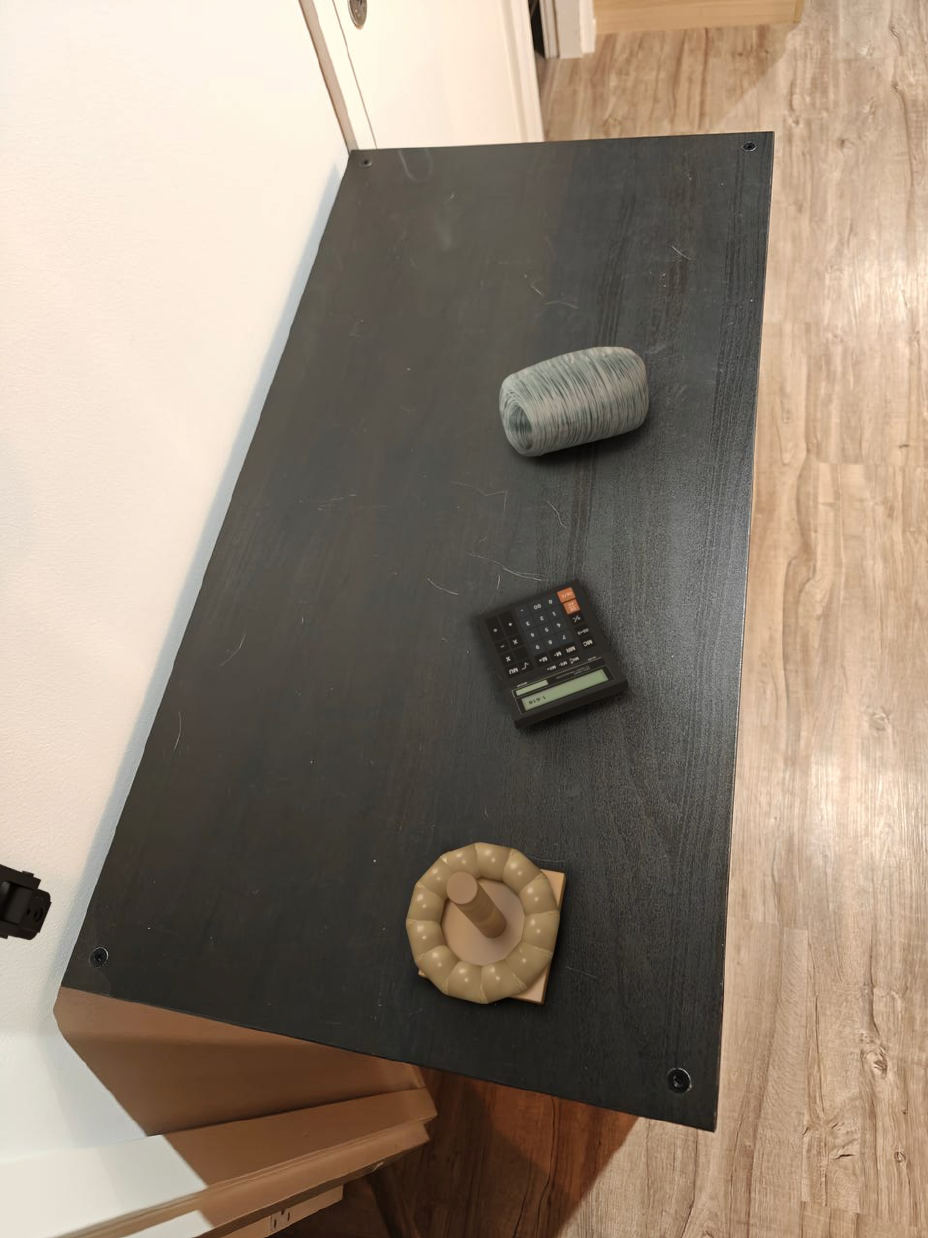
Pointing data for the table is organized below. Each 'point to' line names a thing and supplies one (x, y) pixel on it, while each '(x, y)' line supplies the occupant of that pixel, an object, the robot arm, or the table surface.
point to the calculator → (549, 654)
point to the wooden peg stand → (490, 923)
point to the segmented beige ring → (526, 955)
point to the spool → (574, 400)
